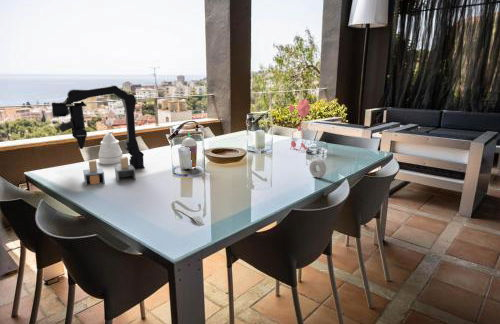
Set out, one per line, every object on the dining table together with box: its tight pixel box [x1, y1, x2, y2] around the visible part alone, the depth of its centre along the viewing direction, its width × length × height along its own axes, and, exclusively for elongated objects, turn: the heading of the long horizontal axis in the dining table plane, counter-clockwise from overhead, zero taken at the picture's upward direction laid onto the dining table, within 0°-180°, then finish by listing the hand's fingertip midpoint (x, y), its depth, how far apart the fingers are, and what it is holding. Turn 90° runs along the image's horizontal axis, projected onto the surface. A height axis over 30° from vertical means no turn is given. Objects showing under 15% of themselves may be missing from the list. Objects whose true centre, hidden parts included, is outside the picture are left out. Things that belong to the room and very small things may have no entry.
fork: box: [174, 206, 205, 227], centre depth 124 cm, size 3×21×3 cm, turn 37°
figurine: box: [288, 98, 316, 152], centre depth 232 cm, size 15×26×35 cm, turn 34°
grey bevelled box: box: [114, 156, 137, 182], centre depth 166 cm, size 8×8×10 cm
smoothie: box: [181, 132, 198, 168], centre depth 183 cm, size 8×8×20 cm
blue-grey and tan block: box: [82, 159, 106, 187], centre depth 160 cm, size 8×8×10 cm
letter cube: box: [89, 174, 100, 185], centre depth 161 cm, size 4×4×4 cm
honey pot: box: [98, 130, 123, 165], centre depth 198 cm, size 13×13×18 cm
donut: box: [308, 157, 327, 179], centre depth 171 cm, size 10×3×10 cm, turn 38°
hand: (81, 147), depth 170 cm, fingers open, 9 cm apart
